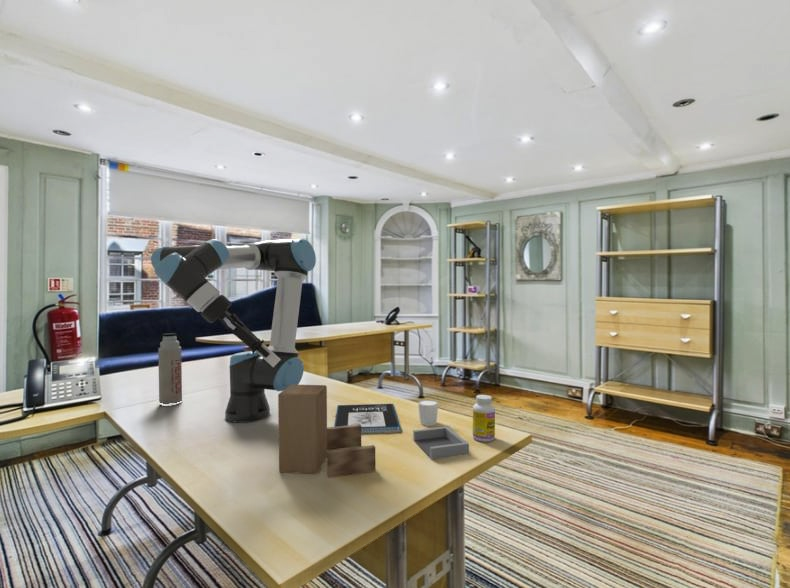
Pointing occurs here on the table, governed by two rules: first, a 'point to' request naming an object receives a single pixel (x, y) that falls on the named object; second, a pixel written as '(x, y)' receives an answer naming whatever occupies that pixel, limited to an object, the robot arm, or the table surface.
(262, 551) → the table surface
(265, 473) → the table surface
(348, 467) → the parallel wooden walls
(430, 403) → the white cup
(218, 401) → the table surface
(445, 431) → the grey shallow rectangular tray
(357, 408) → the sketchbook
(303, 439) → the wooden block
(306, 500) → the table surface
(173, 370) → the thermos bottle
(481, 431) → the supplement bottle
